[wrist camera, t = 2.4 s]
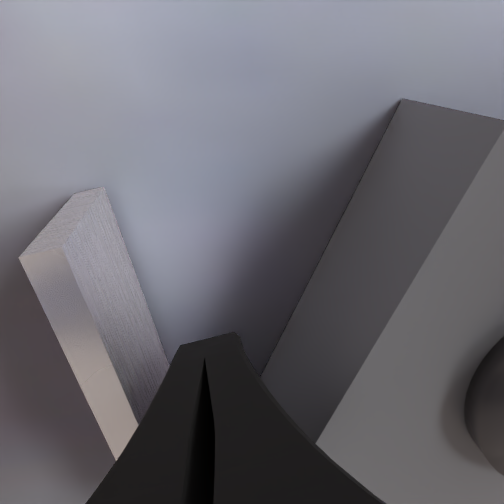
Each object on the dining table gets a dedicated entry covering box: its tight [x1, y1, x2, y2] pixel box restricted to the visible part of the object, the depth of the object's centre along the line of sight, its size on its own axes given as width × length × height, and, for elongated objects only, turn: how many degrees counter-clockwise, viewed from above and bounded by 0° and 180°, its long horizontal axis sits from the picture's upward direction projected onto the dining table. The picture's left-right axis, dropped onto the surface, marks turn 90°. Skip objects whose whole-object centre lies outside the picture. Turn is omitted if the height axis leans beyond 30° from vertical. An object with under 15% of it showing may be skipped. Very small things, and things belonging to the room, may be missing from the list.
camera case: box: [260, 98, 504, 504], centre depth 12 cm, size 14×9×5 cm, turn 157°
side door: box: [18, 187, 170, 461], centre depth 11 cm, size 10×1×4 cm, turn 12°
